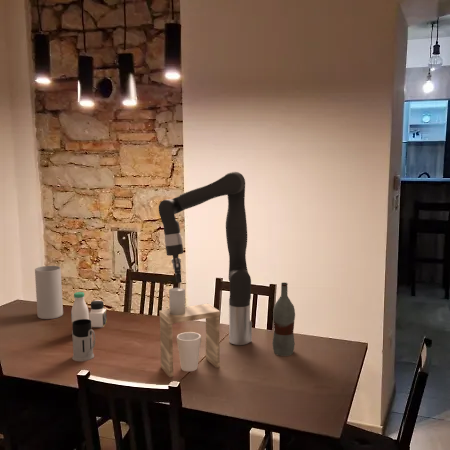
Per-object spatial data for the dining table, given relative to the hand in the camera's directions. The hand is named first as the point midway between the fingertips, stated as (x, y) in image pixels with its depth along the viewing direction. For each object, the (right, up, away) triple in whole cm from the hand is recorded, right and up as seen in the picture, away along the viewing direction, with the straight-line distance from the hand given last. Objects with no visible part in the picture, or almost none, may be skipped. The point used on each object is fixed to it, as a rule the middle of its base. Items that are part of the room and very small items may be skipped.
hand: (179, 282), depth 227 cm
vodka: (+45, -28, -12) cm, 55 cm away
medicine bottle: (-42, -24, +22) cm, 53 cm away
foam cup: (+7, -31, -27) cm, 41 cm away
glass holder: (-36, -30, -18) cm, 50 cm away
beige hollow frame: (+7, -30, -26) cm, 41 cm away
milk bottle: (-46, -26, +9) cm, 54 cm away
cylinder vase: (-70, -22, +36) cm, 81 cm away
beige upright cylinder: (+2, -8, -32) cm, 33 cm away
